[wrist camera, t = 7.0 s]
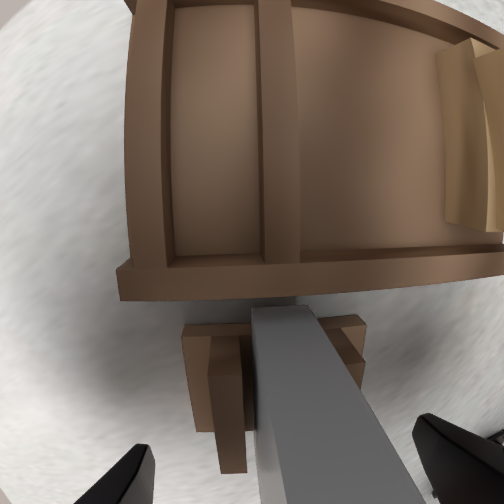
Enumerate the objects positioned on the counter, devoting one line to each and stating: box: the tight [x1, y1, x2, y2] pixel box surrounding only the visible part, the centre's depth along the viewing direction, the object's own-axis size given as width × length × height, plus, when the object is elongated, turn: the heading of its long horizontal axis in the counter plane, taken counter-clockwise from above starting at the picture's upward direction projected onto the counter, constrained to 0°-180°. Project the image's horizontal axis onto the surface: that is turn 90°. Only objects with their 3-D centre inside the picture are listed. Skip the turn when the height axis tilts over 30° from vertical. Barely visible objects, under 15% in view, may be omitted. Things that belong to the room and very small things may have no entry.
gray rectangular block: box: [251, 305, 426, 504], centre depth 7 cm, size 2×7×9 cm, turn 1°
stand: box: [181, 315, 367, 474], centre depth 11 cm, size 7×5×4 cm
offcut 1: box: [435, 38, 504, 232], centre depth 9 cm, size 4×7×2 cm, turn 1°
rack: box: [116, 0, 504, 301], centre depth 9 cm, size 16×11×2 cm
